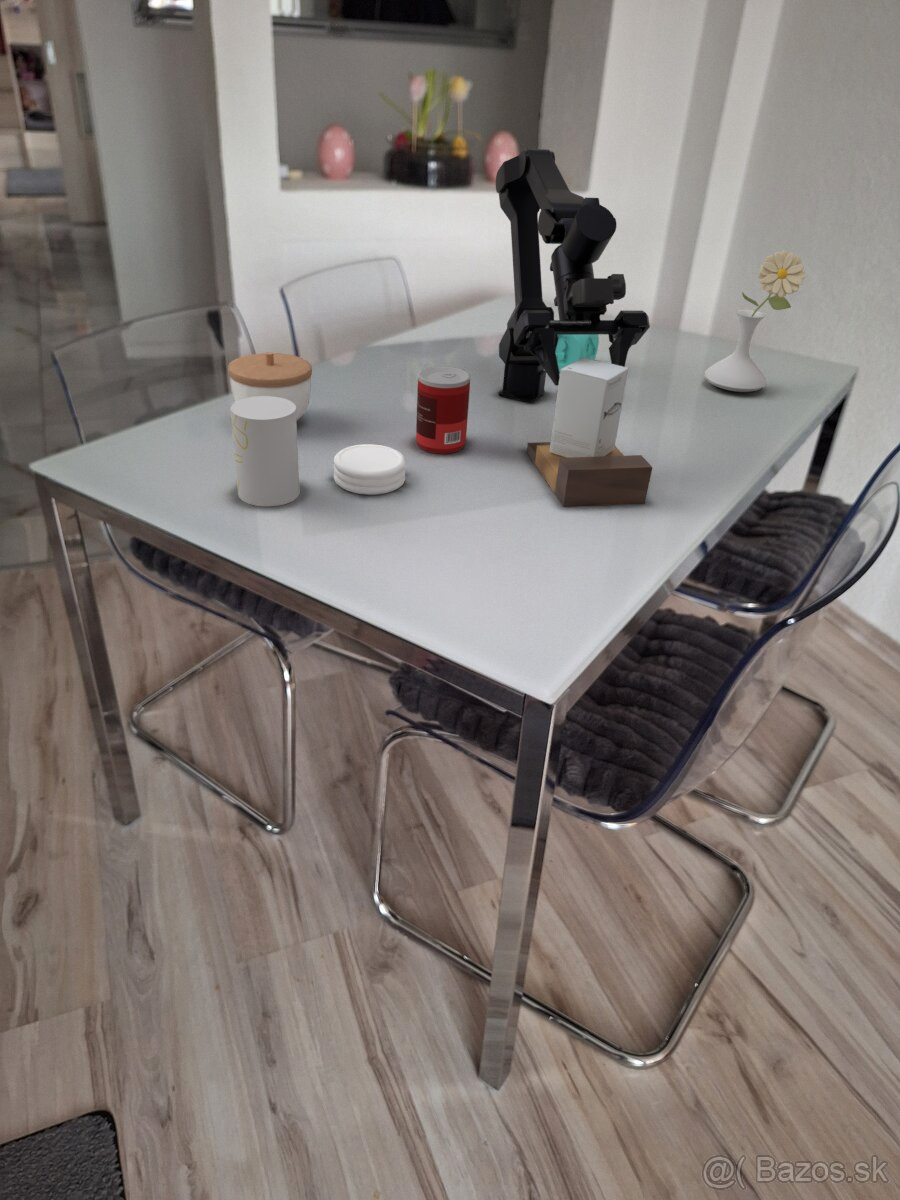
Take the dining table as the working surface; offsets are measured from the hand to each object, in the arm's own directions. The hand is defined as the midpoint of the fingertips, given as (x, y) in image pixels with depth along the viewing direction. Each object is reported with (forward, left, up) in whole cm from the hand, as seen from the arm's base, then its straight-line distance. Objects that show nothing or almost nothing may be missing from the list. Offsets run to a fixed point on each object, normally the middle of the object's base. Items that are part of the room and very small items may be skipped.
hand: (588, 383), depth 121 cm
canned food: (-21, -5, -13) cm, 25 cm away
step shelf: (+2, -3, -13) cm, 13 cm away
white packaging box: (+1, -1, -10) cm, 10 cm away
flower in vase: (+12, +52, -13) cm, 55 cm away
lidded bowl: (-47, -13, -13) cm, 50 cm away
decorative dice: (-19, +43, -13) cm, 49 cm away
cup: (-32, -33, -13) cm, 47 cm away
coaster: (-23, -22, -13) cm, 34 cm away
